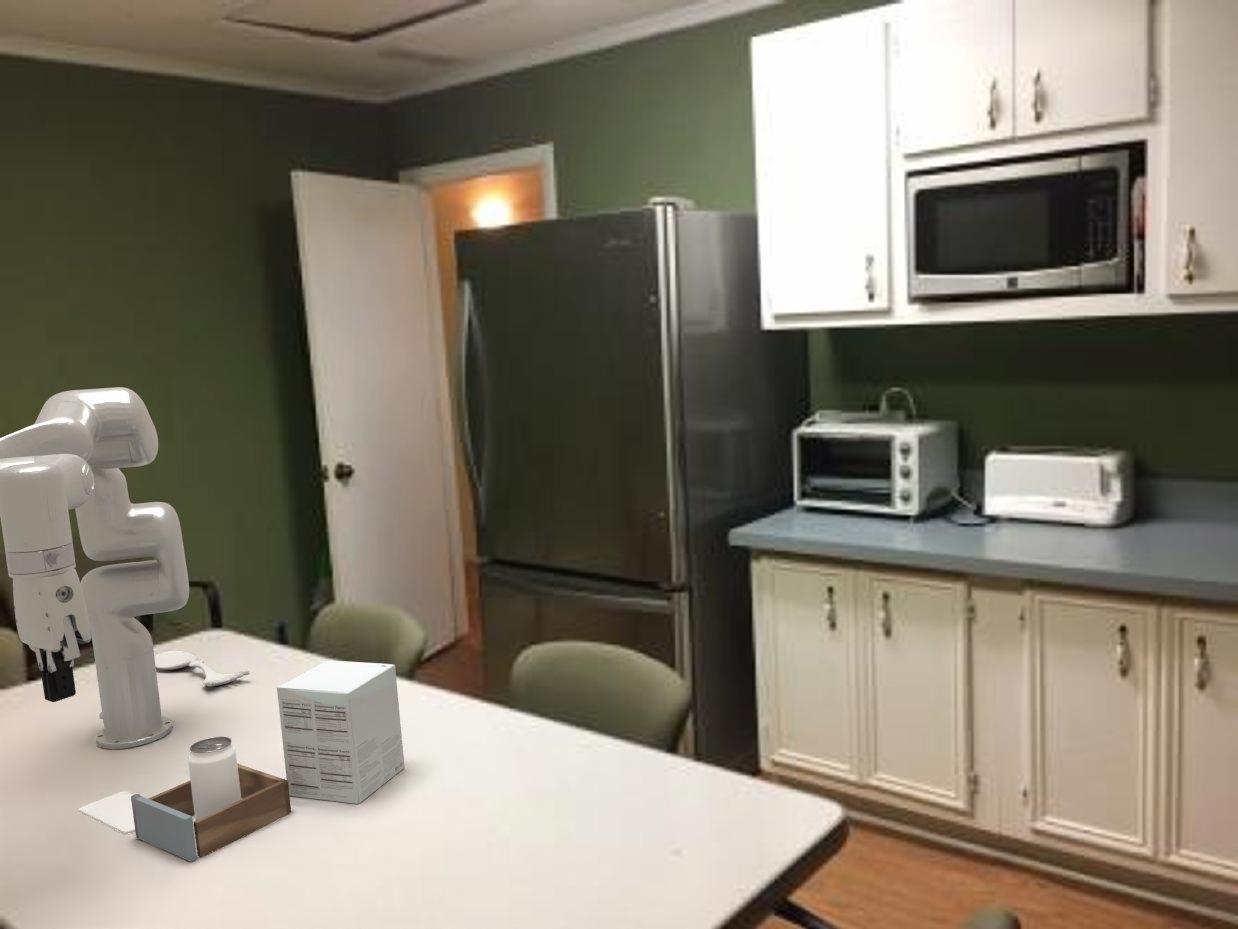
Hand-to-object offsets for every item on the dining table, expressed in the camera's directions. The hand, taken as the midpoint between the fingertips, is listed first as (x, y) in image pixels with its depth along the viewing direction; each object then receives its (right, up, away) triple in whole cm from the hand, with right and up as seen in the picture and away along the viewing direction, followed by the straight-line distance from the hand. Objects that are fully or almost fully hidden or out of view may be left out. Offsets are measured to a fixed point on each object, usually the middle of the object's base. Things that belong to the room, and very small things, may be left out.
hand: (60, 697), depth 133 cm
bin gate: (+9, -23, +10) cm, 27 cm away
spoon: (-18, -15, +86) cm, 89 cm away
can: (+14, -22, +17) cm, 31 cm away
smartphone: (-2, -23, +22) cm, 32 cm away
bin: (+14, -22, +16) cm, 31 cm away
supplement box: (+30, -20, +28) cm, 46 cm away
